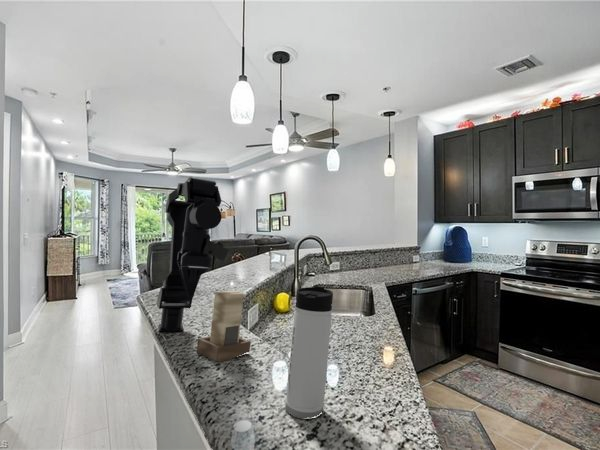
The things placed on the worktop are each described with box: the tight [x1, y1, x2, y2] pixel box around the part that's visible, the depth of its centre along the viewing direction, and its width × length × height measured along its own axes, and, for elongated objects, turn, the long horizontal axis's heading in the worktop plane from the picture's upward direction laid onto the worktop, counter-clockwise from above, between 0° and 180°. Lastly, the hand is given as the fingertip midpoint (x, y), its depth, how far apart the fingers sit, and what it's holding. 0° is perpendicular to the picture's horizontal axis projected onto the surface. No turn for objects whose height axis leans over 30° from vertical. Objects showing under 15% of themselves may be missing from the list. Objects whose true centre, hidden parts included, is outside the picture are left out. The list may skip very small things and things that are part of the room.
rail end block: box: [209, 290, 245, 347], centre depth 76 cm, size 5×5×14 cm
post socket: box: [196, 336, 251, 363], centre depth 76 cm, size 8×9×3 cm
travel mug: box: [284, 285, 334, 419], centre depth 54 cm, size 6×7×20 cm
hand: (188, 293), depth 77 cm, fingers open, 9 cm apart
